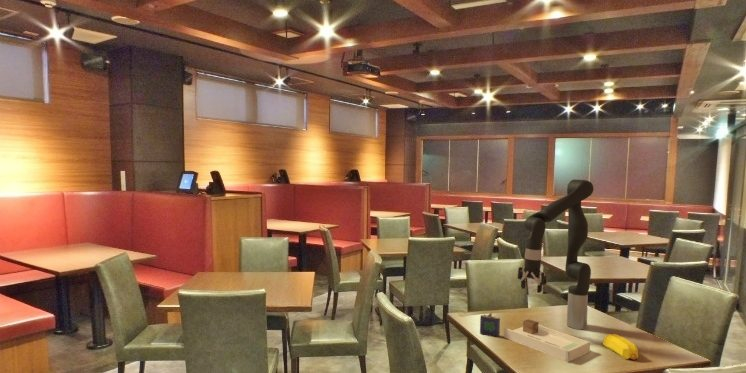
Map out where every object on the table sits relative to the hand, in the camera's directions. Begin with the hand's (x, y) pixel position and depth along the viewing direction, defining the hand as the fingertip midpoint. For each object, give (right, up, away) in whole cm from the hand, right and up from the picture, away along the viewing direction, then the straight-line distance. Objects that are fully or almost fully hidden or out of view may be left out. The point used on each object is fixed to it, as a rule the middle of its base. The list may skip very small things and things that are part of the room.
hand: (531, 290), depth 218 cm
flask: (-22, -21, -5) cm, 30 cm away
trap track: (+1, -21, -15) cm, 26 cm away
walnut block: (-2, -19, -5) cm, 20 cm away
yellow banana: (+31, -23, -22) cm, 45 cm away
